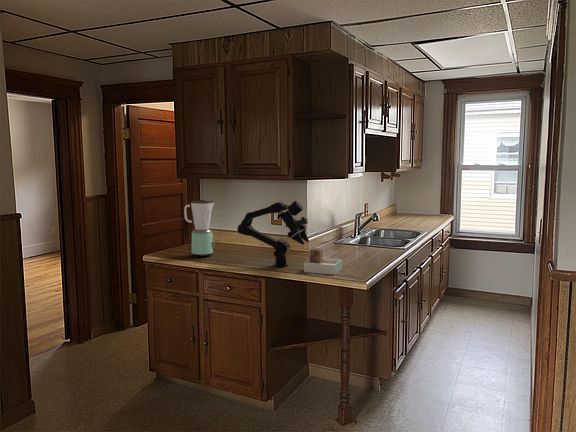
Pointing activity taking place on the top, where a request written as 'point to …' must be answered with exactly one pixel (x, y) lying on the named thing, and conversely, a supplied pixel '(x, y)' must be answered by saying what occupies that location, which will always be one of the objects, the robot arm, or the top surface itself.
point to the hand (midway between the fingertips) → (306, 243)
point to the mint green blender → (201, 227)
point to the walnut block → (315, 255)
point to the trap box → (324, 266)
